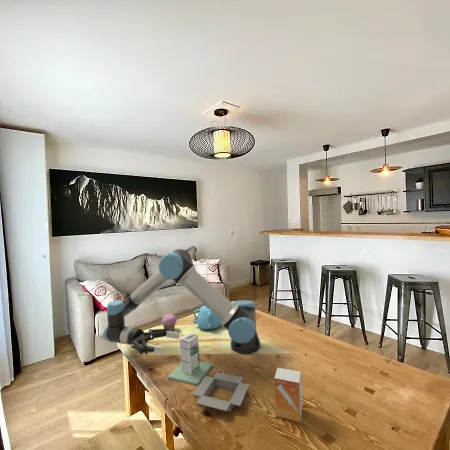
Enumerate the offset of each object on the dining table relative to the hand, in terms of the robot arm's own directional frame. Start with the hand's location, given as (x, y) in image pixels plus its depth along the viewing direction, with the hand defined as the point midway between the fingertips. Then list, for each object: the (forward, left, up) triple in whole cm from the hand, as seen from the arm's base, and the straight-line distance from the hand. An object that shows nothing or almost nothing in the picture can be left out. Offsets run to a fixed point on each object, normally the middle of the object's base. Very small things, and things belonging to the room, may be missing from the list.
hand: (170, 342), depth 112 cm
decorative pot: (-20, -40, -12) cm, 47 cm away
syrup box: (-8, +5, -11) cm, 14 cm away
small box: (-40, +35, -12) cm, 55 cm away
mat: (-8, +5, -11) cm, 15 cm away
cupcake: (+4, -39, -12) cm, 41 cm away
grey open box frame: (-19, +23, -11) cm, 32 cm away
